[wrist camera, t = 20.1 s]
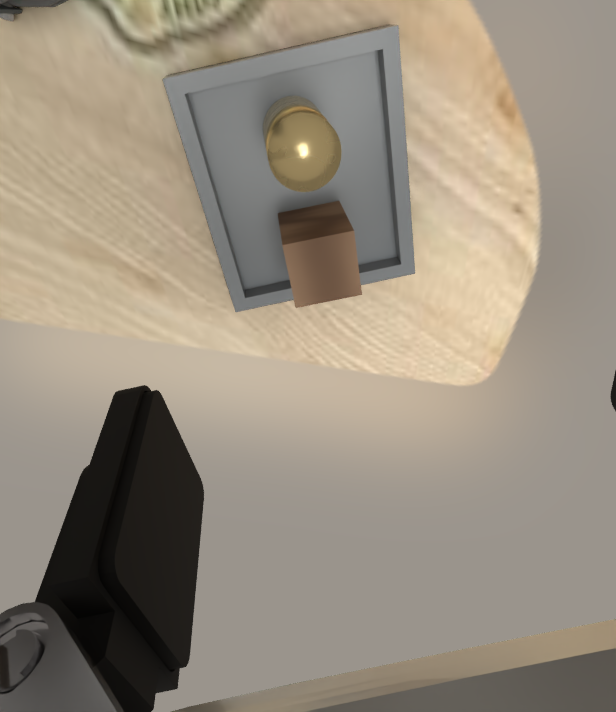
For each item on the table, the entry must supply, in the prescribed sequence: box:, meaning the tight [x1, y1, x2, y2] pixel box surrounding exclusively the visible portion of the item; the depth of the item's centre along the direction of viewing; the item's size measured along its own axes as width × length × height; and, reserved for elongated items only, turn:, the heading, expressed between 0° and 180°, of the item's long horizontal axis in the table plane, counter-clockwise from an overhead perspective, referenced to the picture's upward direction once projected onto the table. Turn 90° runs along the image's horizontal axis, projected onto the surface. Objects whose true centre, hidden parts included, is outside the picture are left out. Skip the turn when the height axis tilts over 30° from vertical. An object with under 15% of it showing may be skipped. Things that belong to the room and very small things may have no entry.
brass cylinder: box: [263, 96, 342, 192], centre depth 30 cm, size 4×4×7 cm
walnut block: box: [278, 201, 362, 308], centre depth 34 cm, size 4×4×6 cm
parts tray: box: [163, 25, 415, 312], centre depth 34 cm, size 14×16×2 cm
